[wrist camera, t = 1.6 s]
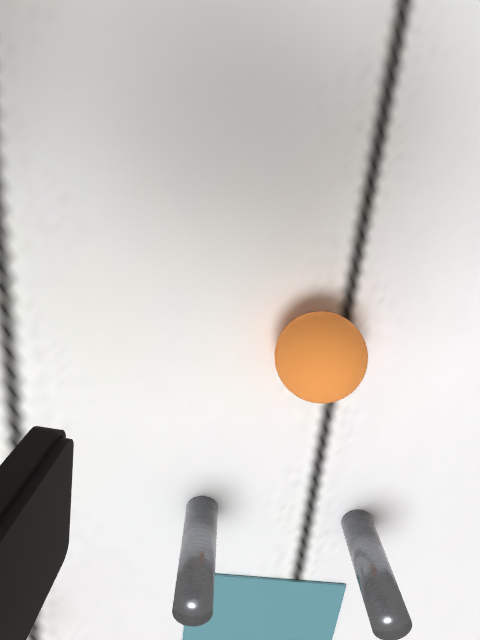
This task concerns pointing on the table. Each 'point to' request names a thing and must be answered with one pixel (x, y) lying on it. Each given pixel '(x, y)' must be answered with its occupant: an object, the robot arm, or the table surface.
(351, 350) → the ball
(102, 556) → the table surface
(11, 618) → the robot arm
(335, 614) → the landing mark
